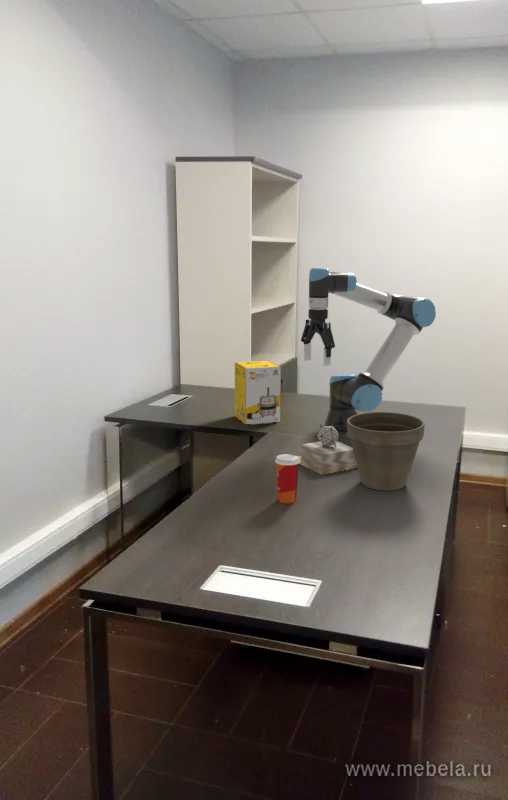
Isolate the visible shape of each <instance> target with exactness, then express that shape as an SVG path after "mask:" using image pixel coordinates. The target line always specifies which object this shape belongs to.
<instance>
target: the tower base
mask: <svg viewBox="0 0 508 800" xmlns="http://www.w3.org/2000/svg"><path fill="white" fill-rule="evenodd" d="M335 445H336V447H335ZM335 445H332V446H324V448H323V445H322V443H321V442H320V441H316V442H310V443H309V442H308V443H303V444H301V452H300V453H301V455H297V456H298V457H299V460H300V463H299V465H300V466H303V467H305V468H306V469H308V468H309V470H310V469H311V471H312V470H313V472H314V473H316V472H317V474H318V473H319V475H321V476H325V475H328V474H329V473H330V474H335V473H338V472H339V473H340V471H341V472H345V471H344V470H346V471H350V469H351V470H356V469H355V468H357V464H356V460H355V456H354V452H353V448H352V446H349V445H347V444H345V443H343V442H340V441H339V440H337V442H336V444H335ZM357 469H358V468H357ZM334 472H335V473H334Z"/></svg>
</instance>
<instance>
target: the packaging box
mask: <svg viewBox="0 0 508 800" xmlns="http://www.w3.org/2000/svg"><path fill="white" fill-rule="evenodd" d="M281 380H282V366H280V365H279V364H276V363H274V362H272V361H269V360H260V361H259V360H258V361H256V360H255V361H239V362H234V417H235V418H236V417H237V418H236V419H237V420H239V421H240V420H241V421H242V422H241V421H240V422H241V423H242V424H244V425H245V424H251V425H263V424H273V422H276V423H281V405H282V404H281V403H282V402H281V400H282V397H281V396H282V391H281V389H282V386H281V385H282V383H281V382H282V381H281ZM262 423H263V424H262Z"/></svg>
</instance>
